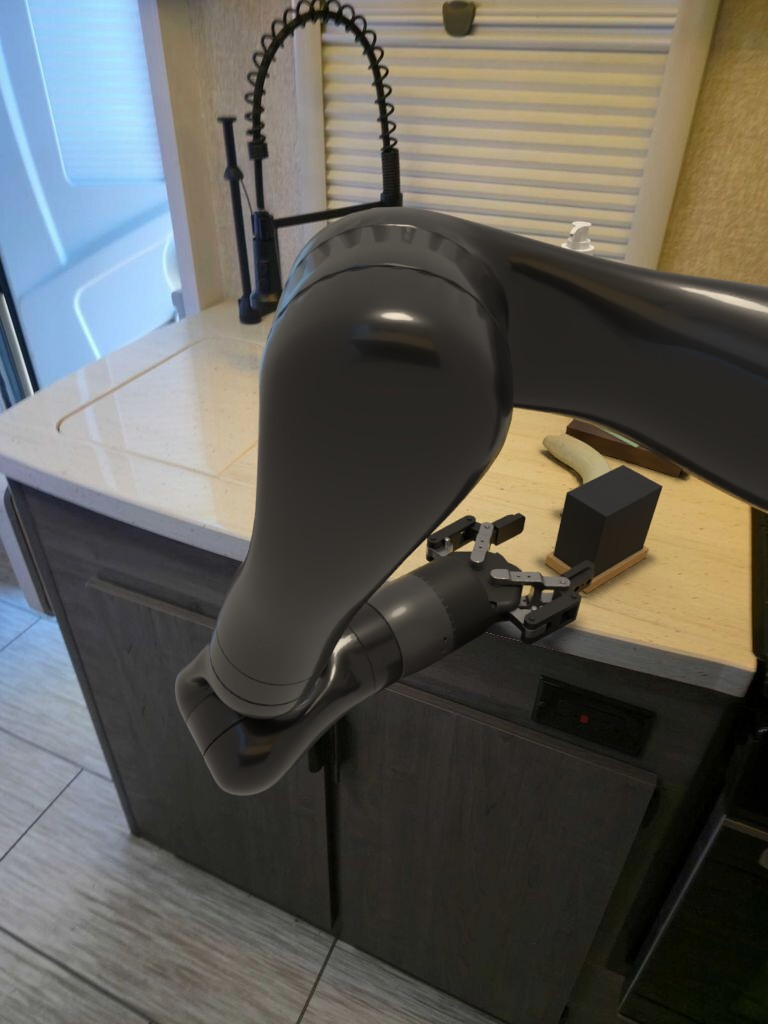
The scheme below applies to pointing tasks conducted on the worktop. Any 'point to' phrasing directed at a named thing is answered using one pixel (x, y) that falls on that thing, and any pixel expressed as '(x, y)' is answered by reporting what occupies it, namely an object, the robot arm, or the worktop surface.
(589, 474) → the fruit
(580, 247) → the soap bottle
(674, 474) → the wooden base
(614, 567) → the matte black box
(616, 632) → the worktop surface
